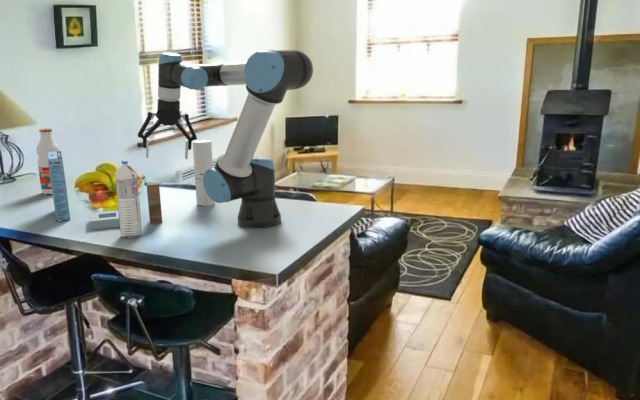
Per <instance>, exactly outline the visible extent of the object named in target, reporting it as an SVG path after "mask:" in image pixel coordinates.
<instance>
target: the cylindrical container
mask: <svg viewBox="0 0 640 400" xmlns="http://www.w3.org/2000/svg"><path fill="white" fill-rule="evenodd" d="M212 145H213V144H212V140H211V139H209V140H207V139H200V140H199V139H198V140H193V141H192V152H193V154H192V155H193V166H194V169H193V170H194V180H195V181H194V182H195V196H196V198H195V199H196V206H198V205H201V206H200V207H208V206H207V205H211V206H214V205H215V204H216V202H214V201H213V200H212V199H211V198H210V197H209V196H208V195H207V193H206V191H205V188H204V185H203V176H204V173H205V171H206V170H208V169H209V168H214V163H213V149H212V148H213V147H212ZM213 204H214V205H213Z"/></svg>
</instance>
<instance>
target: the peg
mask: <svg viewBox="0 0 640 400" xmlns="http://www.w3.org/2000/svg"><path fill="white" fill-rule="evenodd" d="M145 184H146V193H147V205H148V214H149V215H148V216H149V224H150V225H156V224H162V223H163V216H162V204H161V191H160V183H159V182H158V181H154V182H146V183H145Z"/></svg>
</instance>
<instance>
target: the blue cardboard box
mask: <svg viewBox="0 0 640 400" xmlns="http://www.w3.org/2000/svg"><path fill="white" fill-rule="evenodd" d="M62 154H63V153H62V151H61V150H59V151H55V152H48V164H49V172H50V179H51V187H52V194H51V195H52V200H53V207H54V214H55V221H56V220H65V221H70V220H71V214H70V213H71V212H70V205H69V196H68V195H69V194H68V190H67V189H68V188H67V182H66V174H65V169H64V168H65V167H64V162H63V161H64V160H63V156H62ZM68 219H69V220H68Z"/></svg>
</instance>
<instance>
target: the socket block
mask: <svg viewBox="0 0 640 400" xmlns="http://www.w3.org/2000/svg"><path fill="white" fill-rule="evenodd" d="M88 222H89V223H88V225H89V230H91V231H92V229H93V230H100V229H101V230H102V229H110V228H120V224H119V223H120V222H119V214H118V211H117V210H108V211H107V212H106V211H100V212H99V211H96V212H89V219H88Z"/></svg>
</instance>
